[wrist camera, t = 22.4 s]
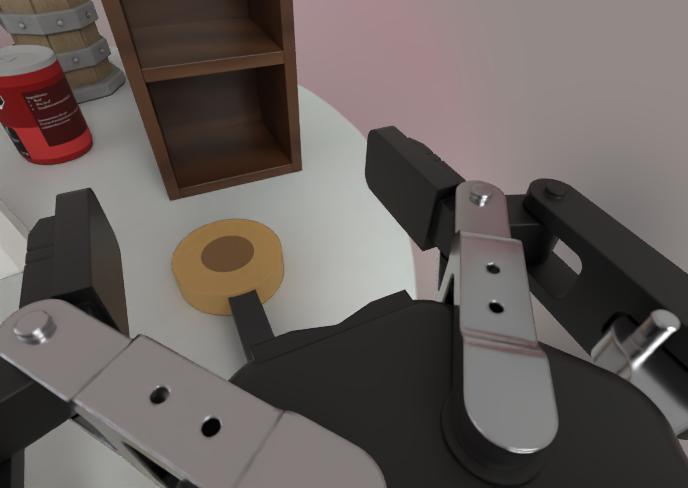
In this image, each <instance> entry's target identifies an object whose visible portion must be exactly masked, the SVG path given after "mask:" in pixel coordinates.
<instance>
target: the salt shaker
mask: <svg viewBox="0 0 688 488" xmlns="http://www.w3.org/2000/svg"><path fill="white" fill-rule="evenodd" d="M29 233H30V232H29V231H28V230H27V229H26V228H25V226H24V225H23V224H22V223H21V222H20V221H19V220H18V219H17V218H16V216H15V215H14V214H13V213H12V212H11V211H10V210H9V209H8V208H7V206H6V205H5V204H4V203H3V202H2V201H1V200H0V279H2V278H5V277H9V276H12V275H15V274H18V273H21V272H23V271H24V265H26V264H25V257H26V253H27V250H26V248H27V240H28V234H29Z"/></svg>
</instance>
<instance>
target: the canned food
mask: <svg viewBox="0 0 688 488" xmlns="http://www.w3.org/2000/svg"><path fill="white" fill-rule="evenodd" d="M0 122H1V123H2V125H3V127H4V128H5V130H6V132H7V133H8V135H9V137H10V138H11V140H12V141H13V143H14V145H15V146H16V148H17V150H18V151H19V153H20V154H21V155H22V156H23V157H24V158H25V159H27V160H28V161H29V162H32V163H36V164H44V165H47V164H58V163H63V162H67V161H71V160H73V159H76V158H78V157H80V156H82V155H84V154H85V153H86V152H88V151H89V150H90V148H91V147H92V144H93V143H92V135H91V133H90V130H89V128H88V126H87V124H86V121H85V119H84V117H83V115H82V112H81V110H80V108H79V105H78V103H77V101H76V99H75V96H74V94H73V92H72V90H71V87H70V85H69V83H68V81H67V78H66V76H65V74H64V72H63V69H62V67H61V65H60V63H59V61H58V59H57V56H56V55H55V54H54V51H53V50H52V49H50V48H48V47H44V46H38V45H15V46H7V47H1V48H0Z"/></svg>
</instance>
